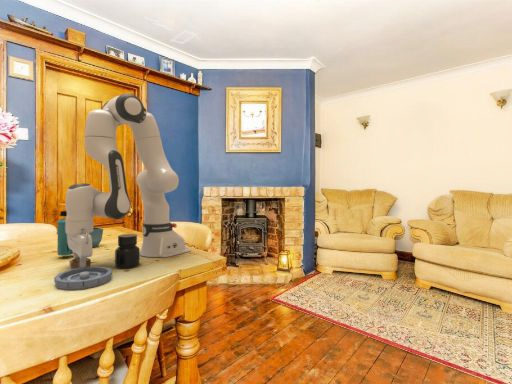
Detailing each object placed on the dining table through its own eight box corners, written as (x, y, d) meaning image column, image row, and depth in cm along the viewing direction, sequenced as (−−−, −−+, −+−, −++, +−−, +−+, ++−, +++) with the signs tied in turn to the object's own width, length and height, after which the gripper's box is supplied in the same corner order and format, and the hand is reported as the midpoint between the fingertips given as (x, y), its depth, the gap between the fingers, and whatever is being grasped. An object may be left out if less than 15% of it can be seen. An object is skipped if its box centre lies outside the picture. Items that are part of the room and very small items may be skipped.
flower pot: (103, 246, 147) (103, 228, 146) (85, 249, 139) (85, 230, 139) (94, 244, 151) (94, 226, 151) (76, 247, 144) (76, 229, 144)
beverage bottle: (66, 259, 122) (66, 211, 121) (53, 258, 123) (52, 211, 122) (79, 255, 128) (78, 210, 127) (66, 254, 129) (65, 209, 129)
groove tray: (103, 270, 108) (103, 263, 108) (118, 282, 97) (118, 273, 97) (50, 280, 97) (50, 271, 97) (61, 294, 86) (60, 284, 86)
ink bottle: (136, 261, 121) (136, 232, 121) (144, 266, 115) (144, 235, 114) (110, 265, 115) (110, 235, 115) (117, 270, 108) (117, 238, 108)
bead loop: (87, 266, 113) (87, 257, 113) (92, 270, 109) (92, 260, 109) (68, 269, 109) (68, 260, 109) (72, 273, 104) (72, 263, 104)
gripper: (97, 230, 103) (97, 269, 103) (82, 223, 118) (82, 257, 118) (76, 232, 99) (76, 272, 99) (63, 224, 113) (63, 260, 114)
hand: (79, 264), depth 109 cm, fingers closed on bead loop, 6 cm apart
